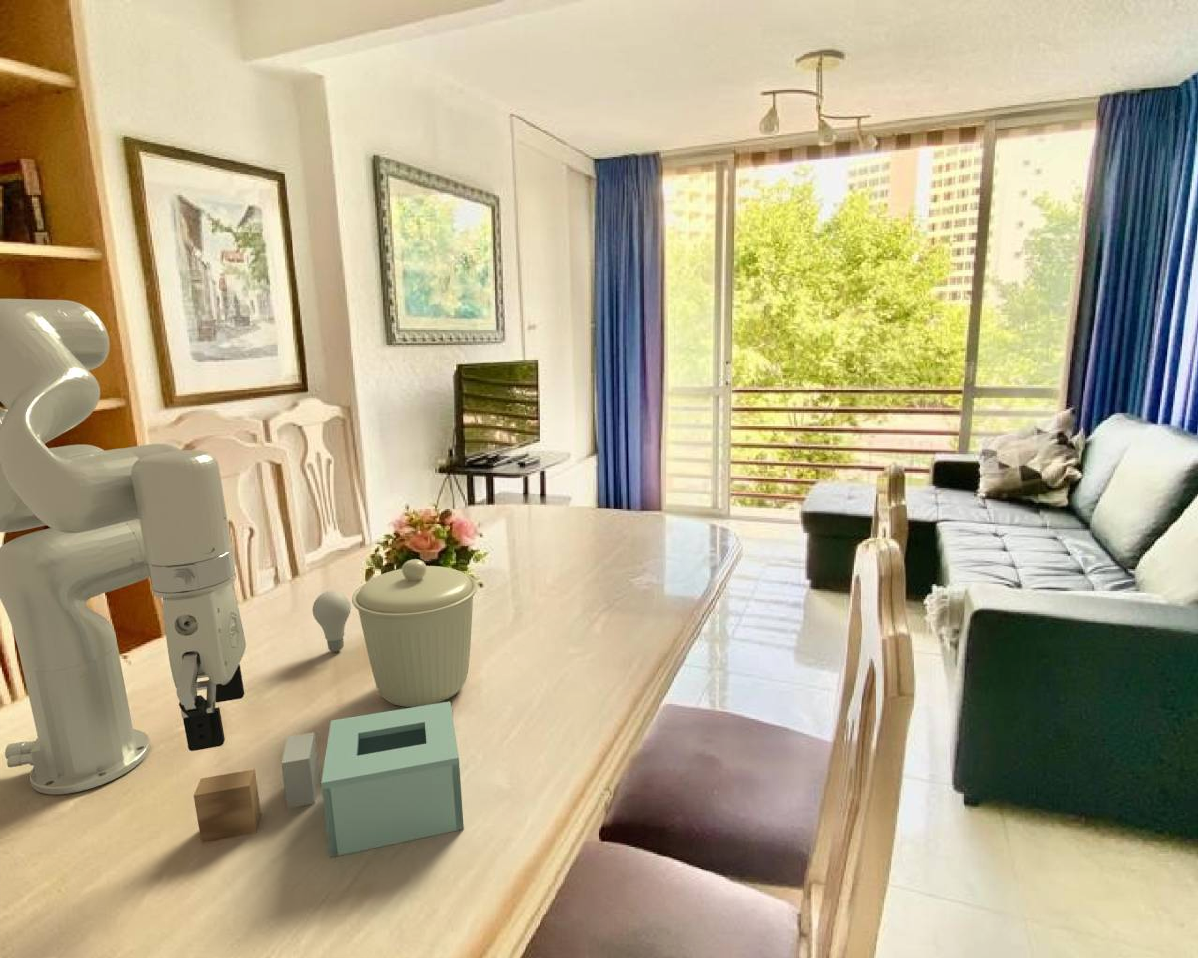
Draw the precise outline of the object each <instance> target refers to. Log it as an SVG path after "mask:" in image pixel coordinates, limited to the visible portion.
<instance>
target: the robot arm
mask: <svg viewBox="0 0 1198 958" xmlns="http://www.w3.org/2000/svg"><path fill="white" fill-rule="evenodd" d="M110 343H111V342H110V336H109V333H108V330H107V329H106V326H105V324H104V323H103V321H102V320H101V319H100V317H99V316H98V315H97V314H96V312H94V311H93V310H92V309H90V307H88V306H86V305H84V304H83V303H79V302H76V301H73V300H68V299H38V298H37V299H35V298H33V299H29V298H27V299H26V298H24V299H23V298H0V403H1V404H2V405H3V407H5V408H6V409H4V408H2V407H1V406H0V533H13V532H19V531H26V530H30V529H35V528H39V527H40V528H41V527H44V526H48V528H46V529H42V530H37V531H34V532H33V531H32V532H29V533H27V534H23V535H20V536H19V537H16V538H14V539H11V540H10V541H7V542H6V543H4V544H3V545H1V546H0V602H1V603H2V606H3V608H4V610H5V613H6V614H7V617H8V620H9V623H10V625H11V627H12V630H13V635H14V639H15V641H16V645H17V650H18V653H19V658H20V664H21V666H22V672H23V675H24V680H25V685H26V690H27V695H28V698H29V704H30V708H31V712H32V717H33V721H34V726H35V730H36V735H37V738H36V739H35V740H30V741H21V742H12V743H8V744H7V745H6V747H5V751H4V754H5V758H6V763H7V767H8V768H15V767H21V766H24V765H30V766H33V767H32V769H31V771H30V773H29V781H30V784H31V787H32V788H33V790H35V791H37V792H39V793H42V794H45V795H56V796H57V795H69V794H74V793H79V792H82V791H87V790H90V789H93V788H97V787H99V786H100V787H101V786H102V785H104V784H107V783H110V782H112V781H114V780H116V779H118V778H120V777H122V776H124V775H125V774H127V773H128V772H130V771H131V770H133V769H135V767H137V766H138V765H139V764H140V763H141V762H143V761H144V759H145V758H146V757H147V755H148V754H149V753H150V749H151V741H150V738H149V735H148V734H147V733H146V732H144V731H142V730H139V729H134V727H133V722H132V718H131V712H130V706H129V701H128V696H127V689H126V685H125V679H124V674H123V673H124V672H123V667H122V663H121V658H120V653H119V652H120V651H119V646H118V642H117V637H116V631H115V629H114V626H113V625H112V623H111V621H109V620H108V619H107V618H106V617H105V616H103V615H102V614H100V613H99V612H97V611H95V610H93V609H92V608H90V607H89V606H88V605H87V602H88V600H90V599H93V598H95V597H98V596H100V595H102V594H105V593H109V592H112V591H115V590H119V589H121V588H123V587H127V586H130V585H132V584H136V583H138V582H142V581H144V580H147V579H150V585H151V590H152V591H151V592H152V595H153V596H154V597H157V598H161V599H162V609H163V620H164V622H163V623H164V631H165V638H166V648H167V653H168V660H169V667H170V670H171V671H170V672H171V675H172V679H173V683H174V686H175V689H176V696H177V698H178V701H179V703H178V707H179V709H180V715H181V718H182V720H183V725H184V731H185V739H186V743H187V748H188V750H189V751H191V752H195V751H201V750H205V749H207V750H208V749H211V748H217V747H223V745H224V743H225V740H226V738H225V733H224V726H223V720H222V715H221V710H220V709H221V708H220V707H216V703H217V704H218V703H222V702H227V701H228V702H230V701H234V700H235V701H236V700H241V699H243V697H244V696H245V689H244V683H243V676H242V670H241V664H240V663H241V661H242V659H243V657H244V655H245V652H246V647H247V645H246V643H247V642H246V637H245V633H244V632H245V631H244V627H243V622H242V618H241V614H240V609H239V604H238V599H237V595H236V592H235V586H234V584H233V583H235V581H236V580H237V573H236V567H235V560H234V555H233V548H232V544H231V543H232V542H231V536H230V529H229V522H228V516H227V510H226V509H227V508H226V504H225V503H226V502H225V496H224V489H223V484H222V477H221V471H220V465H219V462H218V460H217V458H216V457H215V456H214V455H213V454H212V453H211V452H208V451H205V450H200V449H187V450H186V449H183V450H182V449H181V448H178V447H176V446H173V445H169V444H166V443H165V444H164V443H152V444H142V445H136V446H130V447H125V448H124V447H123V448H114V449H108V450H104V449H103V448H101V447H98V446H95V445H92V444H69V445H63V446H58V447H57V446H56V447H50V448H49V447H48V446H46V444H47V443H48V442H51V441H52V440H54V439H55V438H57V437H59V436H61V435H62V434H65V433H66V432H68V431H69V430H72V429H73V428H75V427H76V426H78V425H79V424H81V423H83V422H85V420H86V419H88V418H89V416H91V415H92V413H93V412H94V410H95V409H96V407H97V406H98V404H99V401H100V397H101V388H100V384H99V381H98V380H97V378H96V377H95V376H94V375H93V373H91V372H90V371H91V370H95V369H97V368H99V367H100V366H101V365H103V364H104V363H105V362H106V359H107V358H108V356H109V352H110V349H111V348H110V347H111V346H110ZM203 678H204V679H205V678H208V679H207V680H202V681H198V679H203ZM203 690H206V698H205V697H204V696H203V695H202V694H200V695H199V694H198V691H203Z"/></svg>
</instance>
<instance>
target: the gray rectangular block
mask: <svg viewBox="0 0 1198 958" xmlns="http://www.w3.org/2000/svg"><path fill="white" fill-rule="evenodd" d="M316 745H317V744H316V736H315V732H309V733H303V734H297V735H291V736H287V739H286V743H285V747H284V752H283V755H282V759H281V762H280V764H281V771H282V772H281V773H282V779H283V785H284V795H285V800H286V809H293V808H296V807H301V806H307V805H311V804H312V805H313V804H315V803H316V799H317V797H316V796H317V792H318V784H319V781H320V780H319V779H320V769H319V761H318V751H317V746H316Z"/></svg>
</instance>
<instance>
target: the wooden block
mask: <svg viewBox="0 0 1198 958" xmlns="http://www.w3.org/2000/svg"><path fill="white" fill-rule="evenodd" d="M193 800H194V807H195V812H196V819H197V825H198V828H199V831H198V832H199V837H200V841H201V844H205V843H210V842H215V841H220V840H224V839H225V840H226V839H229V838H230V839H231V838H235V837H241V836H246V835H251V834H255V833H256V834H257V833H258V829H259V828H258V827H259V826H260V825H259V824H260V820H261V817H262V810H261V803H260V798H259V789H258V782H257V775H256V769H255V768H254V769H248V770H242V771H238V772H232V773H226V774H220V775H215V776H208V777H203V778H200V779H199V782H198V785H197V786H196V789H195V791H194V794H193Z"/></svg>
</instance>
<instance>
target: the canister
mask: <svg viewBox="0 0 1198 958" xmlns="http://www.w3.org/2000/svg"><path fill="white" fill-rule="evenodd" d="M477 590H478V582H477V580H476V579H474V578H473V576H471V575H469V574H468V573H467V574H466V573H464V572H462V571H460V570H458V569H455V568H452V567H451V568H450V567H445V566H439V565H438V566H436V565H426V562H424V561H423V560H420V559H417V558H414V559H410V560H407V561H405V562H404V563H403V565H402V566H401V568H398V569H393V570H391V571H387V572H385V573H382V574H379V575H378V576H374V577H373V578H372V579H369V580H368V581H367V582H366V583H365V584H363V585H361V586H360V587H358V588H357V589H356V590H355V591H354V593H353V594H352V597H351V603H352V605H353V607H354V608H355V609H357V610H358V615H359V620H360V625H361V628H362V632H363V637H364V642H365V647H366V650H367V651H366V652H367V654H368V655H367V656H368V660H369V663H370V667H371V670H372V676H373V678H374V683H375V686H376V688H377V691H378V692H379V694H380V695H381V696H382V697H383V698H384V700H386V701H388V702H389V703H390V704H393V705H395V706H399V707H404V708H405V707H406V708H412V707H418V706H425V705H431V704H437V703H443V702H445V701H446V700H449V699H450V698H451V697H453V696H455V694H457V693H458V692H459V691H460V690H461V689H462V688H463V687H464V685H465V683H466V680H467V677H468V673H469V666H470V655H471V645H472V641H471V640H472V623H473V607H474V596H475V595H476V593H477Z"/></svg>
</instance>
